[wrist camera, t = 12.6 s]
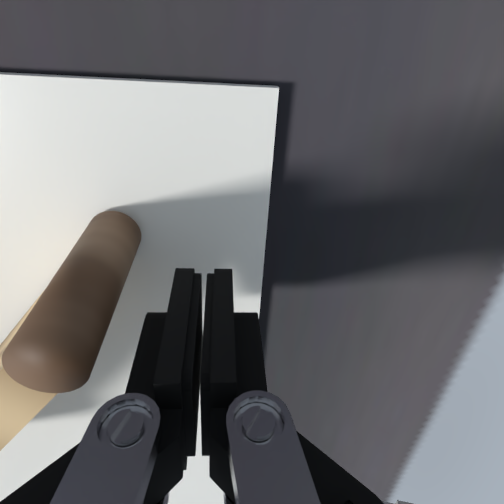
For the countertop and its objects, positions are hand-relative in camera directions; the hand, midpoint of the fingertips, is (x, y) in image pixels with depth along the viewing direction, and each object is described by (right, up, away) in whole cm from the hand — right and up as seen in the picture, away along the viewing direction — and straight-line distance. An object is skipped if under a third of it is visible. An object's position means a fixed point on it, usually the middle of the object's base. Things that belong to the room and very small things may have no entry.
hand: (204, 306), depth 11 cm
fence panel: (-6, -1, +2) cm, 7 cm away
